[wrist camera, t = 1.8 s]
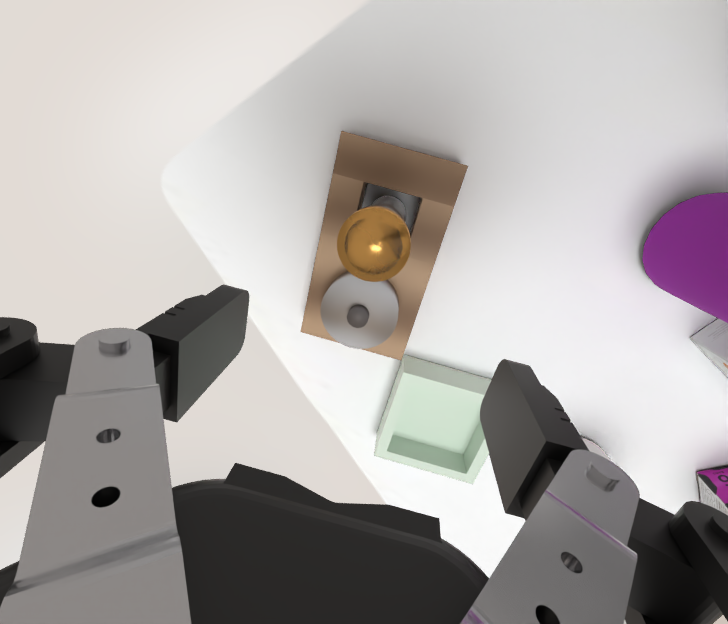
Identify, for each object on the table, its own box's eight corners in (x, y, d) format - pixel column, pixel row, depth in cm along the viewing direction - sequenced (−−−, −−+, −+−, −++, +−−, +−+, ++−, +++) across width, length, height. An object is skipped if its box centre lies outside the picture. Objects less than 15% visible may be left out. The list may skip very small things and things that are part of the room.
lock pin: (370, 184, 29) (346, 199, 18) (417, 197, 29) (420, 219, 18) (359, 231, 30) (329, 270, 19) (403, 243, 30) (398, 290, 19)
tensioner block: (348, 133, 28) (333, 127, 22) (462, 165, 28) (474, 166, 22) (309, 318, 34) (290, 347, 29) (402, 344, 34) (400, 378, 29)
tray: (404, 354, 34) (403, 372, 31) (506, 383, 34) (515, 403, 31) (376, 433, 38) (373, 455, 35) (468, 460, 38) (472, 484, 35)
